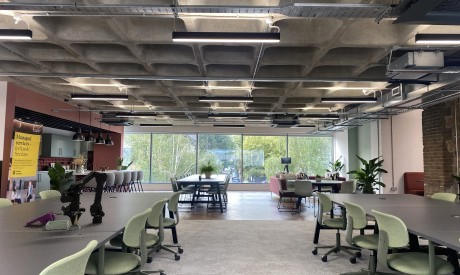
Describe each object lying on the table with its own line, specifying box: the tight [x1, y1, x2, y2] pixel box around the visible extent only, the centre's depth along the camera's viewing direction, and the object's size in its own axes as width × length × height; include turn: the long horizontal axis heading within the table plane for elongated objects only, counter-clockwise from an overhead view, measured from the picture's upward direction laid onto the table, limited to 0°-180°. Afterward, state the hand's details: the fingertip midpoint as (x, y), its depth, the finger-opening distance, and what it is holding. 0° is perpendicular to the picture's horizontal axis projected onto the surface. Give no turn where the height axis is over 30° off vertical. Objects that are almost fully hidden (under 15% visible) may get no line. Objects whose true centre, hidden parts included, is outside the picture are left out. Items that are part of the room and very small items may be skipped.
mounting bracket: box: [25, 210, 56, 227], centre depth 241 cm, size 10×8×18 cm
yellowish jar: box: [71, 214, 78, 227], centre depth 223 cm, size 4×4×9 cm
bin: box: [45, 219, 70, 231], centre depth 226 cm, size 13×13×5 cm
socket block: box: [67, 224, 82, 231], centre depth 223 cm, size 8×8×3 cm
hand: (74, 224), depth 223 cm, fingers closed on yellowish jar, 4 cm apart
